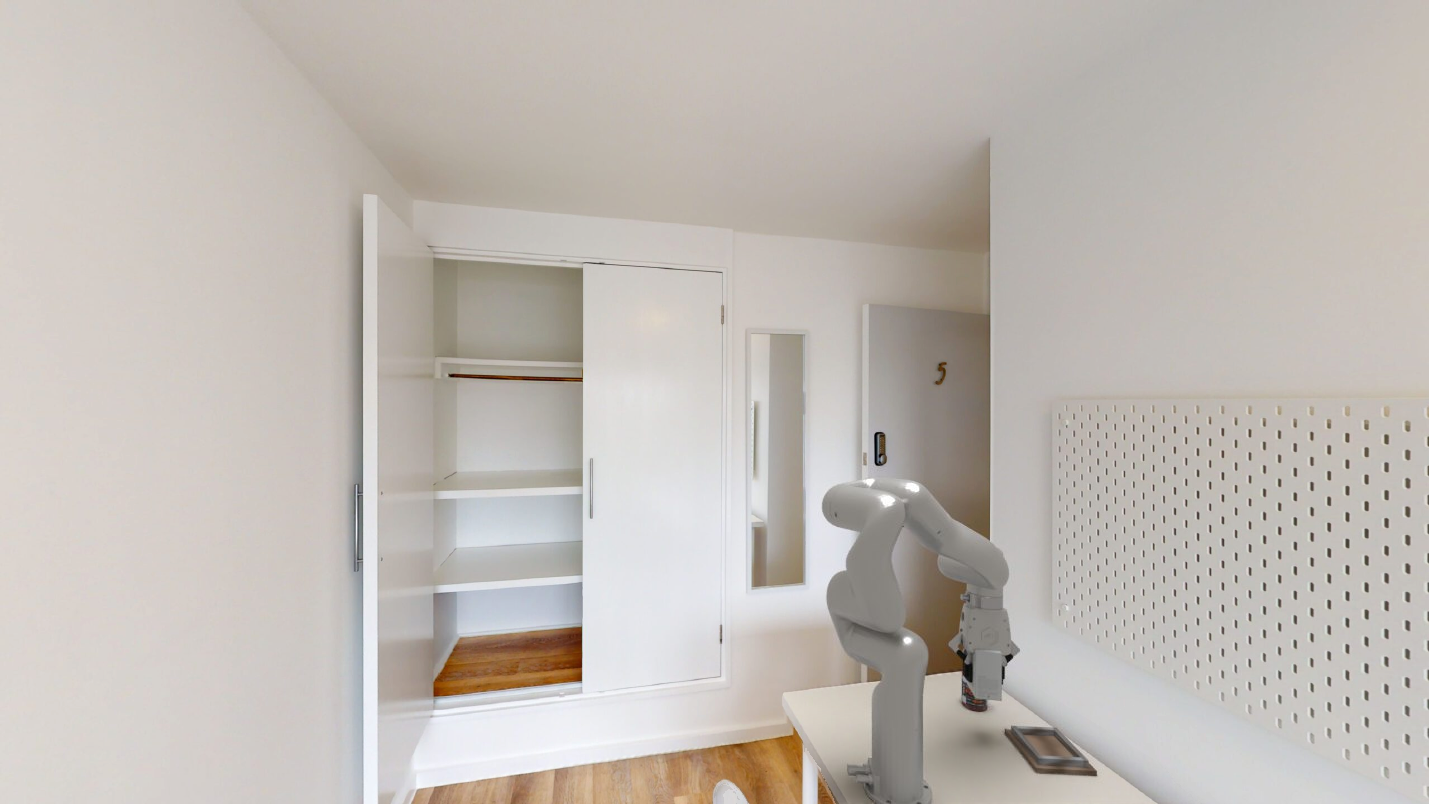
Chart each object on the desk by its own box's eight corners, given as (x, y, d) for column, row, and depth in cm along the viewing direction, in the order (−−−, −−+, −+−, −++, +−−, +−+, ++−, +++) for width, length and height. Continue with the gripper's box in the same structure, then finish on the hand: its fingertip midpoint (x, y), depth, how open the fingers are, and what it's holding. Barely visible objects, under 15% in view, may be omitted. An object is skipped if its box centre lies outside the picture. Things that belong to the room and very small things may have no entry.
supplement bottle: (963, 710, 137) (963, 664, 137) (960, 698, 142) (959, 654, 143) (989, 713, 135) (989, 667, 135) (985, 701, 140) (985, 657, 141)
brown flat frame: (1035, 772, 112) (1035, 761, 113) (1004, 733, 126) (1004, 723, 126) (1096, 775, 112) (1096, 763, 112) (1058, 735, 126) (1058, 725, 126)
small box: (1002, 702, 120) (1002, 653, 120) (974, 698, 121) (975, 650, 122) (991, 685, 128) (991, 639, 128) (965, 682, 129) (966, 637, 129)
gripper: (951, 603, 122) (950, 686, 121) (1031, 608, 121) (1031, 691, 120) (940, 593, 130) (938, 671, 129) (1015, 597, 129) (1014, 676, 128)
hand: (983, 680), depth 125 cm, fingers closed on small box, 6 cm apart
